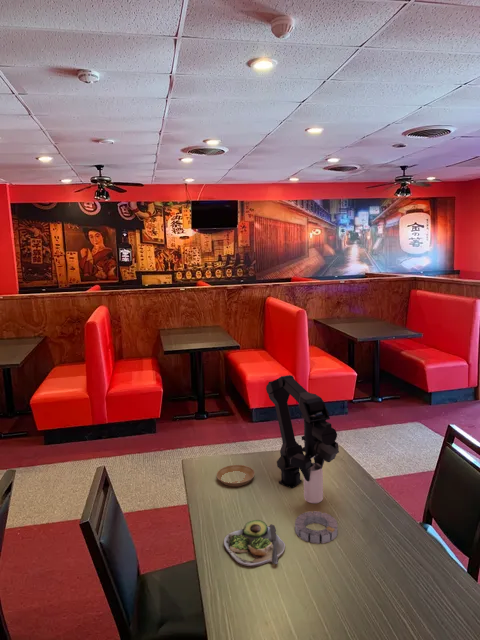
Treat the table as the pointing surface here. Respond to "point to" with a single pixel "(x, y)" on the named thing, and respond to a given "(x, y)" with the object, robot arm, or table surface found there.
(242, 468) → the plant saucer
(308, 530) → the toothed ring
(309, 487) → the can
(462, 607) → the table surface
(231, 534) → the avocado toast plate
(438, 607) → the table surface
